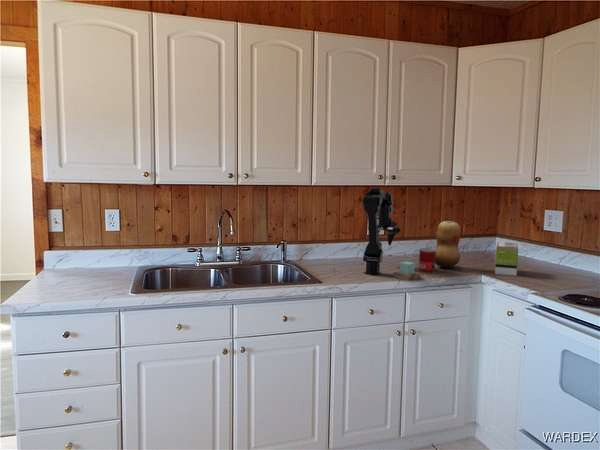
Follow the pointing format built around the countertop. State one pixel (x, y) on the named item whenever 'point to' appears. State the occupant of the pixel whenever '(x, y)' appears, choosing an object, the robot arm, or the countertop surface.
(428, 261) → the canned food
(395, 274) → the walnut base
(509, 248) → the tea box
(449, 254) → the butternut squash
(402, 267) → the teal block
